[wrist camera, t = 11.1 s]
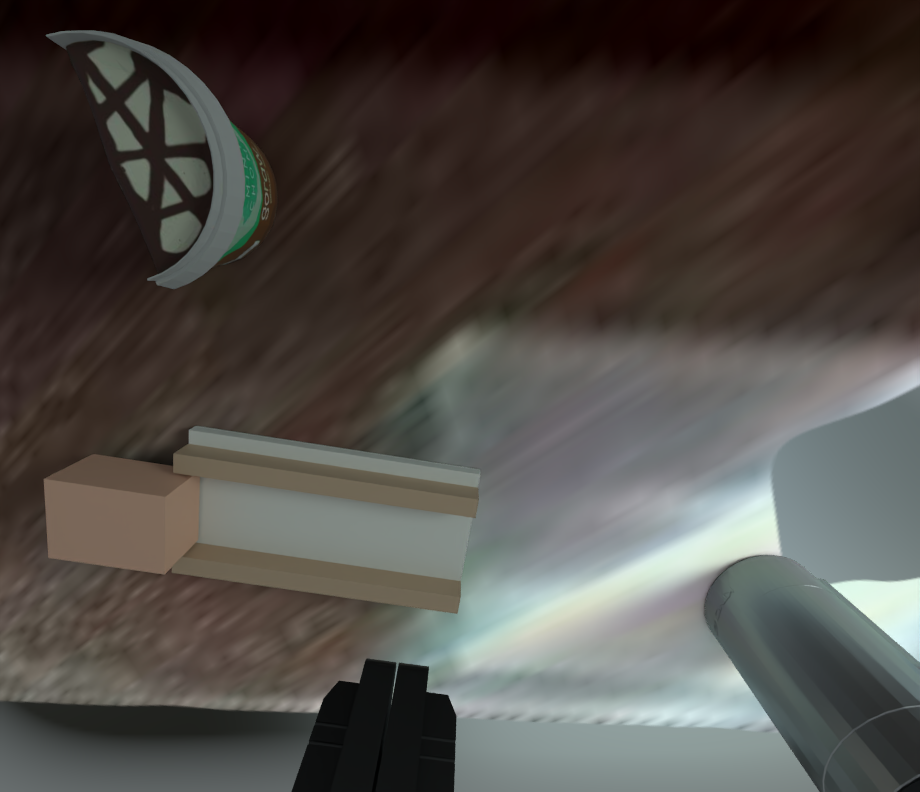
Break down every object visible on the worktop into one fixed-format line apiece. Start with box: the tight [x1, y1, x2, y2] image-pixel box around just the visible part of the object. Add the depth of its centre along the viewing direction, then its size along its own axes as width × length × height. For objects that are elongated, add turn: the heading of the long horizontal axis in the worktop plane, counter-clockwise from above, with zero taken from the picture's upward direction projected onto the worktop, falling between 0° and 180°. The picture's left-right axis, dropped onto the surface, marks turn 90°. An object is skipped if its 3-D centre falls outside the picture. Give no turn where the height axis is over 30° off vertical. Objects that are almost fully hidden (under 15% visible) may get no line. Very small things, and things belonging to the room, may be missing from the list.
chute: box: [172, 426, 480, 614], centre depth 38 cm, size 22×12×3 cm, turn 81°
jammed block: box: [44, 454, 200, 574], centre depth 36 cm, size 8×6×4 cm
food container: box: [46, 30, 278, 289], centre depth 28 cm, size 12×6×10 cm, turn 15°
